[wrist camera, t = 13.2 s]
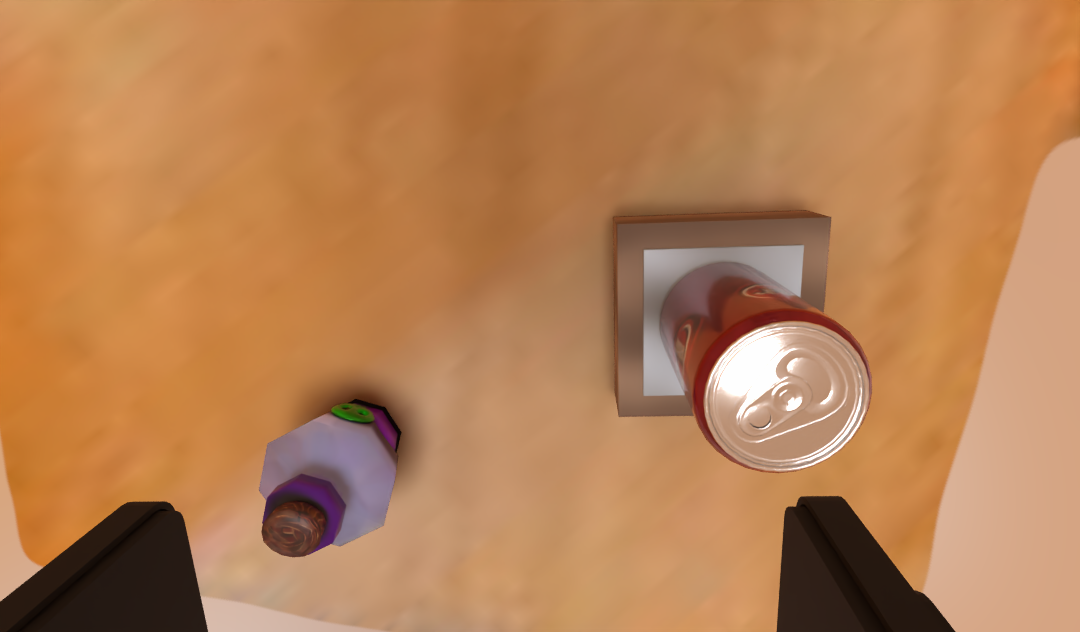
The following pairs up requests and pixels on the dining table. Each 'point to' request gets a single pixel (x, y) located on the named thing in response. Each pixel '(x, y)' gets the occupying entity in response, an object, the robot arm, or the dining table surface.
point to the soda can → (763, 368)
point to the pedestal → (673, 252)
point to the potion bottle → (329, 479)
